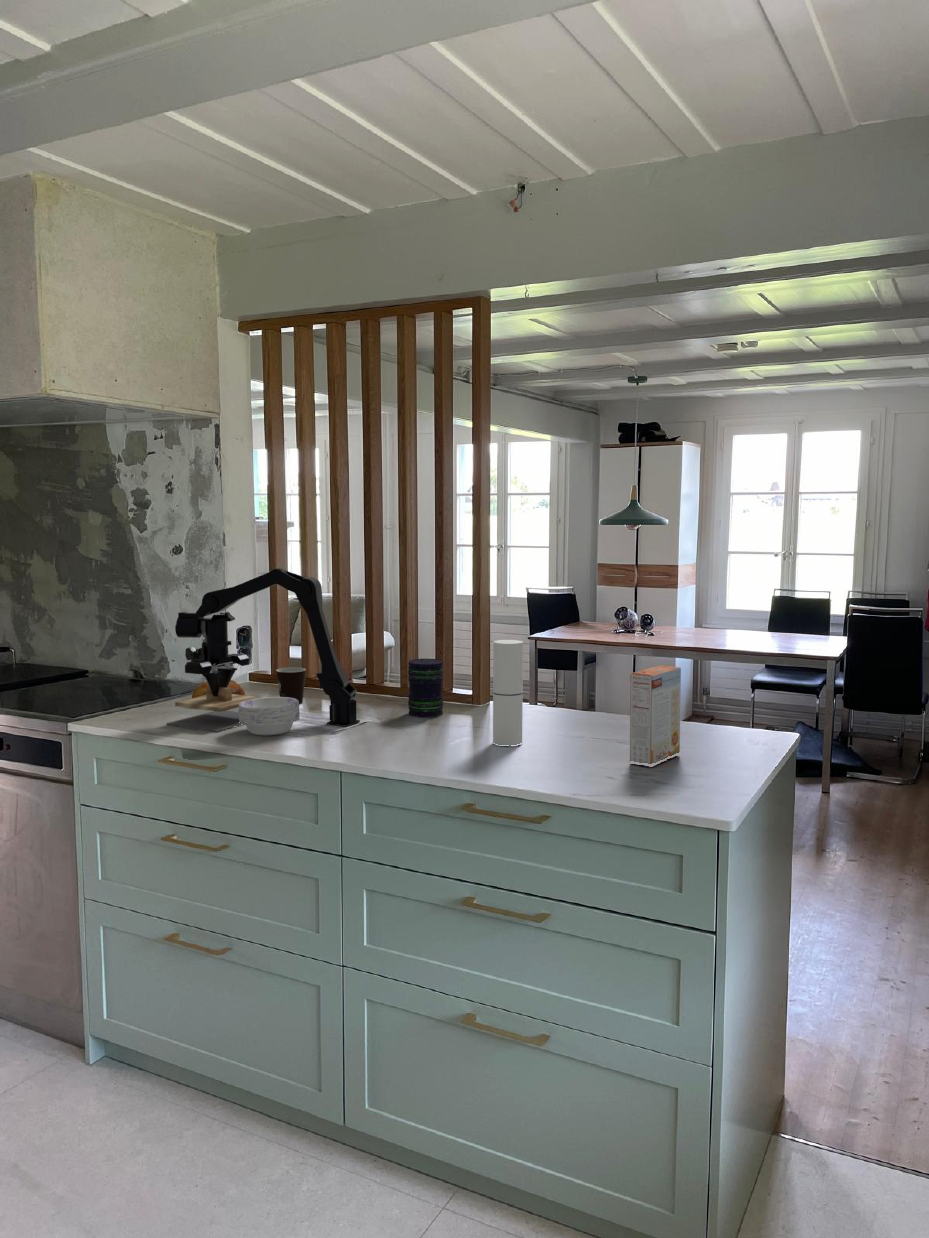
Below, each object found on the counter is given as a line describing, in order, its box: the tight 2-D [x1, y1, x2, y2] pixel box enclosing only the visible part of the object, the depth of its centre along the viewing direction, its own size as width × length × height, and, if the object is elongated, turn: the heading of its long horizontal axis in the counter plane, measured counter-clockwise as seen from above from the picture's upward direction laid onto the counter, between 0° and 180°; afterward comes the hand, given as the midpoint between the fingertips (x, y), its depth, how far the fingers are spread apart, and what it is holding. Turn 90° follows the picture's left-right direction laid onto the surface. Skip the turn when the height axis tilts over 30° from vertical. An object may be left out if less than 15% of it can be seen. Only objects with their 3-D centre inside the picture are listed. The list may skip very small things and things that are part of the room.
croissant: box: [191, 679, 246, 699], centre depth 276 cm, size 14×16×8 cm
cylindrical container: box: [492, 639, 524, 746], centre depth 225 cm, size 7×7×25 cm
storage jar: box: [407, 658, 444, 719], centre depth 259 cm, size 10×10×15 cm
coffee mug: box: [275, 667, 307, 706], centre depth 275 cm, size 12×9×10 cm
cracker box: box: [629, 664, 682, 764], centre depth 210 cm, size 14×6×21 cm, turn 141°
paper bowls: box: [238, 696, 301, 736], centre depth 237 cm, size 15×15×8 cm
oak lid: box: [174, 686, 263, 712], centre depth 249 cm, size 16×16×4 cm
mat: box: [165, 710, 241, 733], centre depth 250 cm, size 18×20×1 cm
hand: (218, 695), depth 249 cm, fingers closed on oak lid, 2 cm apart
